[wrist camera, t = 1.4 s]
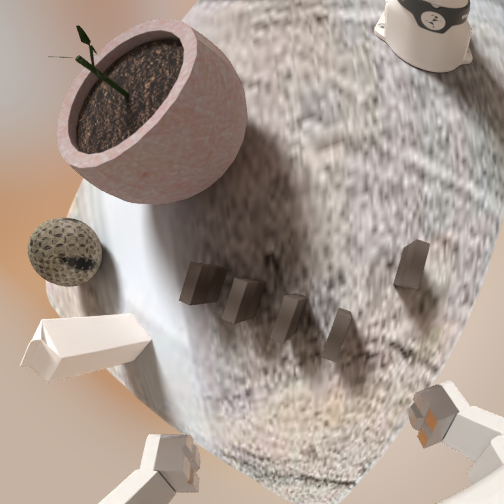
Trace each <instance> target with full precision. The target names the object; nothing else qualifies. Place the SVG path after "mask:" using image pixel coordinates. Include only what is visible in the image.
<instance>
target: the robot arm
mask: <svg viewBox="0 0 504 504" xmlns="http://www.w3.org/2000/svg"><path fill="white" fill-rule="evenodd" d="M385 5H386V8H385V10H384V12H383V14H382V15H381V17H380V19H379V21H378V23H377V25H376V26H375V29H374V33H375V35H376V36H378V37H379V38H381V39H382V40H384V41H385V42H386V43H387V44H388V45H389V46H390V48H391V49H392V50H393V51H394V52H395V53H396V54H397V55H398V56H399V57H400V58H402V59H403V60H404V61H406V62H408V63H409V64H411V65H413V66H415V67H418V68H420V69H423V70H427V71H432V72H449V71H452V70H454V69H456V68H457V67H458V66H460V65H461V64H469V63H471V62H472V59H473V57H472V54H471V51H470V48H469V42H470V38H471V34H472V28H471V27H470V24H469V22H468V21H467V16H468V15H469V11H470V0H385ZM413 400H414V403H413V404H412V406H411V407H410V410H409V419H410V423H411V425H412V427H413V428H414V429H416V430H418V431H419V432H418V438H419V440H420V442H421V444H422V446H423V448H427V447H429V446H432V445H434V444H436V443H439V442H441V441H442V443H444V444H446V445H447V446H449V447H451V448H452V449H454V450H455V451H457V452H459V453H460V454H462V455H463V456H465V457H467V458H468V459H470V460H472V461H473V462H475V463H474V464H473V465H472V466H471V468H470V469H469V470H468V472H467V475H468V477H469V479H470V481H471V483H472V485H470V486H469V487H467V488H465V489H463V490H461V491H460V492H458V493H456V494H454V495H452V496H450V497H448V498H446V499H444V500H442V501H440V502H438V503H436V504H504V418H503V417H501V416H498V415H496V414H493V413H491V412H488V411H485V410H483V409H481V408H478V407H476V406H471V407H470V406H469V404H468V403H467V401H466V400H465V399H464V397H463V396H462V395H461V393H460V392H459V390H458V389H457V388H456V386H455V385H454V384H453V383H452V381H450V380H448V381H445V382H443V383H440V384H438V385H435V386H432V387H430V388H427V389H424V390H422V391H419V392H417V393H416V394H415V395H414V397H413ZM199 469H200V454H199V451H198V448H197V446H195V445H194V444H193V439H192V437H191V435H164V434H149V435H148V437H147V439H146V443H145V448H144V453H143V456H142V461H141V466H140V470H135V471H134V472H133V473H132V474H131V475H129V476H128V477H127V478H126V479H125V480H124V481H123V482H122V483H121V484H120V485H119V486H118V487H117V488H115V489H114V490H113V491H112V492H111V493H110V494H109V495H107V496H106V497H105V498H104V499H103V500H102V501H101V502H100V503H98V504H168V503H169V502H170V501H171V500H172V498H173V497H174V496H175V494H176V492H198V490H199V477H198V475H197V474H196V472H197V471H198V470H199Z"/></svg>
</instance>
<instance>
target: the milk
mask: <svg viewBox="0 0 504 504" xmlns="http://www.w3.org/2000/svg"><path fill="white" fill-rule="evenodd" d="M151 340H152V339H151V338H150V337H149V335H148V334H147V333H146V332H145V330H144V329H143V328H142V326H141V325H140V324H139V322H138V321H137V319H136V318H135V317H134V315H133V314H132V313H126V314H115V315H103V316H90V317H76V318H60V319H43V320H41V322H40V325H39V327H38V329H37V331H36V333H35V335H34V337H33V339H32V341H30V343H29V345H28V347H27V350H26V352H25V354H24V357H23V359H22V362H21V364H20V367H27V366H29V367H30V368H31V369H32V370H33V371H34V372H36V373H37V374H38V375H39V376H40V377H41V378H43V379H44V380H45V381H46V382H48V383H50V382H55V381H59V380H63V379H67V378H71V377H75V376H79V375H83V374H87V373H91V372H94V371H98V370H102V369H106V368H109V367H113V366H117V365H120V364H124V363H127V362H131V361H134V360H135V359H136V358H137V356H138V355H139V354H140V353H141V352H142V351H143V349H144V348H145V347H146V346H147V345H148V344H149V342H150V341H151Z"/></svg>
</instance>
